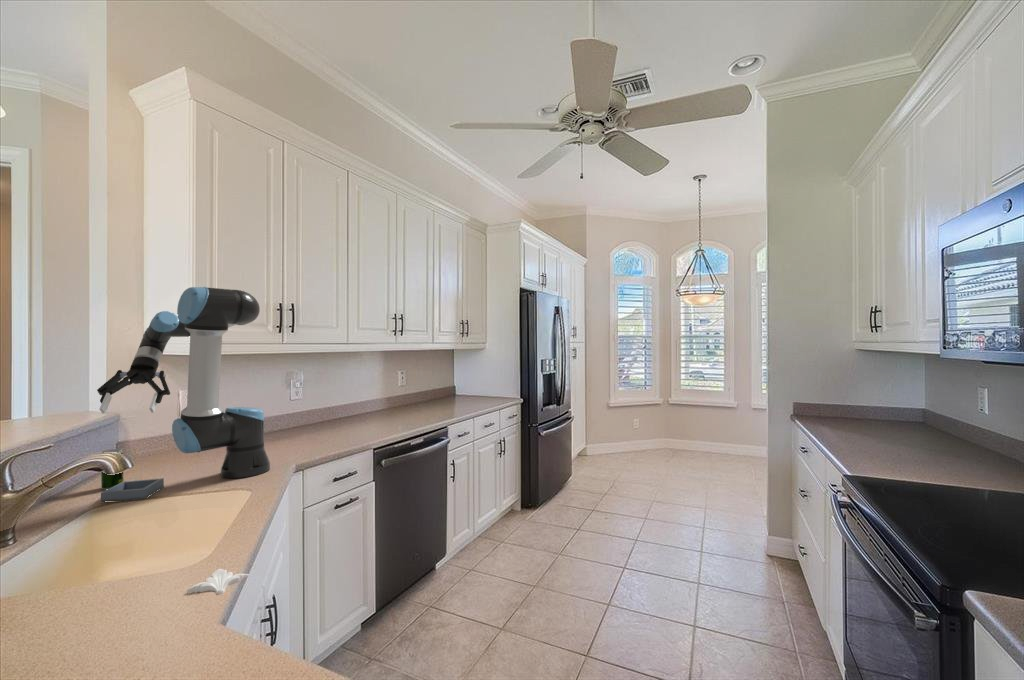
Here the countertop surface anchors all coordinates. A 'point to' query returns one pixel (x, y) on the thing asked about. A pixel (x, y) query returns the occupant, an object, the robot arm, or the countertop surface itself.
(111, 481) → the beer can
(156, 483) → the tray
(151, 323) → the robot arm
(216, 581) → the acanthus leaf ornament
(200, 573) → the countertop surface
